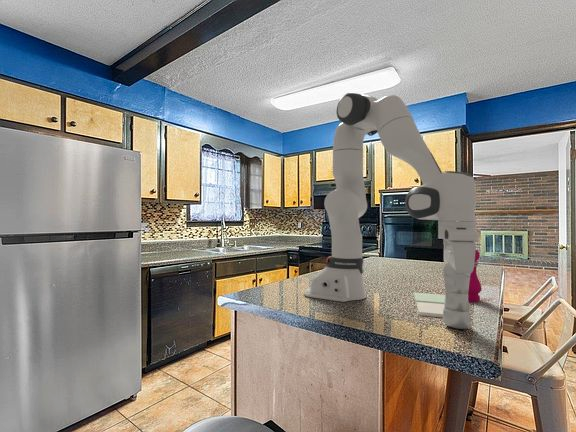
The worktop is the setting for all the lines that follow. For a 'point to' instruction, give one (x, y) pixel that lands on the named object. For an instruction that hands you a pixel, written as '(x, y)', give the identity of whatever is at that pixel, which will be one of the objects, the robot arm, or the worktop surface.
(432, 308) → the mat
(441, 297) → the mat
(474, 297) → the pepper mill
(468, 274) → the plastic bottle
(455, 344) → the worktop surface
